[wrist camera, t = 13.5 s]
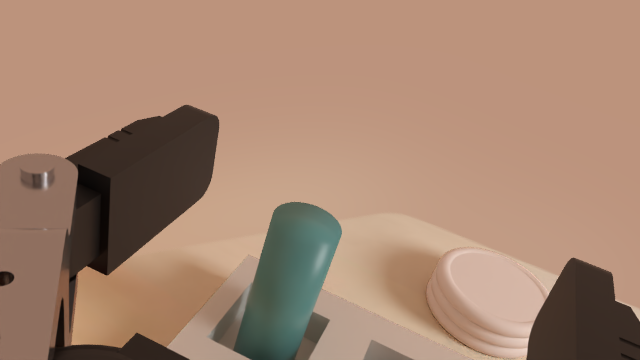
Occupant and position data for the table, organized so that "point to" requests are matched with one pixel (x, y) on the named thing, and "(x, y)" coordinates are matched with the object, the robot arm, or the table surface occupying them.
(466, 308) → the coaster
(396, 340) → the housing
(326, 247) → the teal cylinder
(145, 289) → the table surface
